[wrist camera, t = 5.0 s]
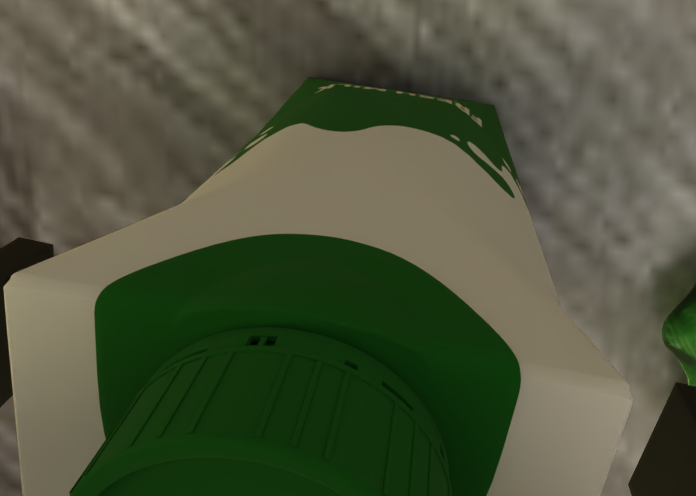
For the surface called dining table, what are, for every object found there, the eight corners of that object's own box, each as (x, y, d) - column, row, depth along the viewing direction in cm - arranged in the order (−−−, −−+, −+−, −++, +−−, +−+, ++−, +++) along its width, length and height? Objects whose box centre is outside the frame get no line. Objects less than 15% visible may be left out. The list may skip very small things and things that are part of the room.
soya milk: (525, 82, 23) (813, 511, 5) (474, 303, 27) (534, 1006, 9) (285, 47, 24) (-227, 315, 6) (267, 267, 28) (-75, 853, 9)
